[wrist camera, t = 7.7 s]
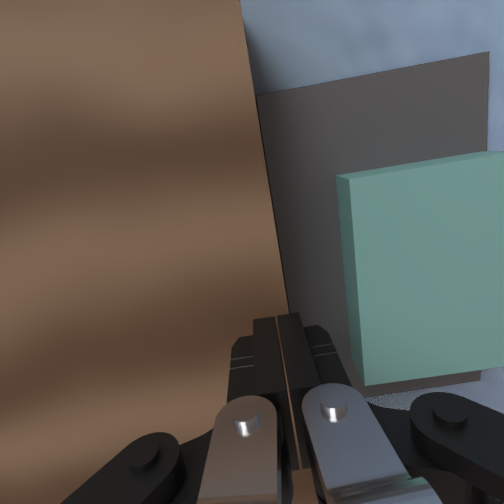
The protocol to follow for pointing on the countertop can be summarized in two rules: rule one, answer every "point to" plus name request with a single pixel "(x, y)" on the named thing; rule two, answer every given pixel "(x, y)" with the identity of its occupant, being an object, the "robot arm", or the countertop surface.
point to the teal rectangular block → (424, 266)
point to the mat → (355, 160)
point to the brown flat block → (125, 231)
